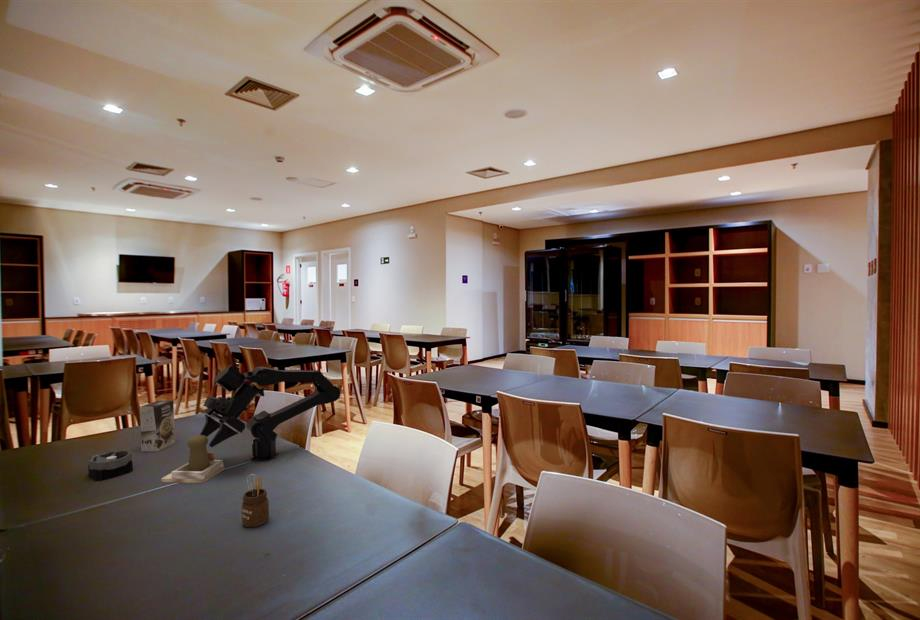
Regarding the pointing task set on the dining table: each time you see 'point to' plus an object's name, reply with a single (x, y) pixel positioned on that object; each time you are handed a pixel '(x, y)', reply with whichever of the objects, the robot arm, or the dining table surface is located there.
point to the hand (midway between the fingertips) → (204, 443)
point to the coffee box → (157, 425)
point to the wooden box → (195, 472)
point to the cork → (198, 453)
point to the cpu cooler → (110, 465)
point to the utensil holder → (255, 505)
